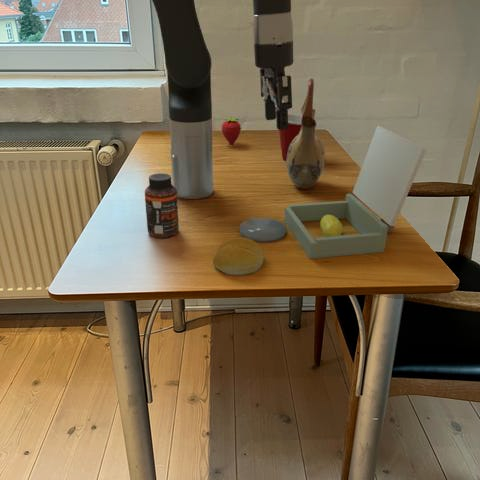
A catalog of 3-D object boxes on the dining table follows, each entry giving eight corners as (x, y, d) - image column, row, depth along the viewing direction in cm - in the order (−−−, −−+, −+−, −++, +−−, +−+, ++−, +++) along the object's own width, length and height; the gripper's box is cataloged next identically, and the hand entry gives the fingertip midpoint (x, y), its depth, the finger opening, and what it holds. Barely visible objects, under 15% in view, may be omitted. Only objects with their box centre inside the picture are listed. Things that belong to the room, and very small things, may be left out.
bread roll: (208, 274, 75) (207, 253, 74) (223, 249, 83) (223, 229, 81) (257, 281, 74) (258, 259, 72) (267, 255, 81) (268, 234, 80)
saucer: (244, 243, 85) (244, 239, 84) (235, 223, 93) (235, 219, 92) (291, 239, 86) (291, 235, 86) (278, 220, 94) (278, 216, 94)
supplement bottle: (165, 242, 85) (161, 184, 80) (141, 234, 88) (135, 178, 83) (185, 230, 89) (182, 174, 84) (161, 223, 92) (157, 169, 87)
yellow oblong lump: (320, 245, 85) (322, 226, 83) (318, 226, 92) (320, 208, 90) (343, 246, 85) (346, 227, 83) (339, 227, 92) (341, 209, 90)
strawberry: (221, 148, 140) (221, 115, 135) (222, 142, 147) (221, 110, 142) (240, 148, 140) (241, 115, 136) (240, 142, 147) (240, 110, 142)
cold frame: (309, 258, 80) (312, 232, 78) (283, 220, 94) (285, 198, 92) (383, 251, 83) (388, 226, 80) (347, 215, 96) (350, 193, 94)
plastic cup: (314, 165, 126) (318, 121, 121) (275, 164, 127) (277, 121, 121) (310, 154, 136) (313, 113, 131) (273, 153, 136) (275, 112, 131)
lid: (422, 148, 75) (426, 149, 75) (377, 125, 89) (381, 126, 89) (390, 225, 80) (393, 226, 80) (352, 192, 94) (355, 193, 94)
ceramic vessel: (323, 199, 105) (334, 84, 93) (283, 196, 106) (290, 83, 94) (320, 175, 119) (330, 74, 108) (286, 173, 120) (292, 73, 109)
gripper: (245, 39, 93) (250, 119, 101) (264, 44, 81) (268, 135, 89) (281, 35, 95) (283, 114, 102) (304, 40, 82) (305, 130, 90)
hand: (276, 124), depth 95 cm, fingers open, 8 cm apart
